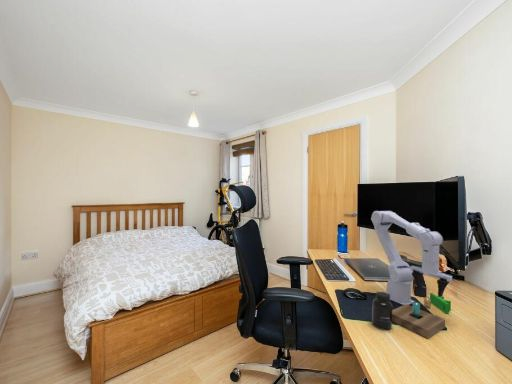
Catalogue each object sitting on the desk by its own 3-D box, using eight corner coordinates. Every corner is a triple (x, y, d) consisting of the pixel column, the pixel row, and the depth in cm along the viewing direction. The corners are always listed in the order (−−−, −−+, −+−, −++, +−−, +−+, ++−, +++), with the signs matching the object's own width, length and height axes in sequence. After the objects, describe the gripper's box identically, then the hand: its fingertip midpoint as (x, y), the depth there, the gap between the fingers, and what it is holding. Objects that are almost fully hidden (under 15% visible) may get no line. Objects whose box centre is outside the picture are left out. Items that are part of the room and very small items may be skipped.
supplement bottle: (384, 332, 85) (385, 299, 85) (368, 322, 91) (368, 292, 91) (396, 327, 89) (396, 296, 88) (379, 318, 95) (379, 289, 95)
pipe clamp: (455, 315, 99) (455, 304, 98) (445, 314, 99) (446, 304, 99) (438, 302, 110) (438, 293, 110) (429, 302, 110) (429, 292, 110)
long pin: (410, 322, 92) (411, 302, 92) (414, 321, 93) (414, 301, 93) (417, 325, 90) (417, 305, 90) (420, 324, 91) (421, 303, 91)
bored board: (387, 319, 94) (388, 312, 94) (406, 310, 101) (406, 303, 101) (427, 338, 82) (427, 330, 82) (445, 327, 89) (445, 319, 89)
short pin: (422, 306, 105) (423, 297, 105) (425, 305, 106) (425, 296, 106) (429, 309, 103) (429, 300, 103) (431, 307, 104) (431, 298, 104)
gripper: (406, 257, 102) (406, 288, 103) (446, 267, 90) (445, 302, 90) (415, 255, 106) (414, 285, 106) (454, 264, 93) (454, 298, 93)
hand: (429, 292), depth 98 cm, fingers open, 7 cm apart
